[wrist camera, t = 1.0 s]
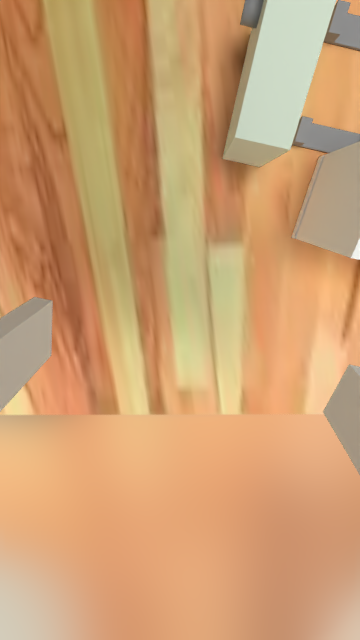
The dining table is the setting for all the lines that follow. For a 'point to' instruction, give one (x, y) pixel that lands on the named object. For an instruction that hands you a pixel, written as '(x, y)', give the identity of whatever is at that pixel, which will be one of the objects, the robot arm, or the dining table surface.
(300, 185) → the dining table surface
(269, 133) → the door
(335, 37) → the cabinet
